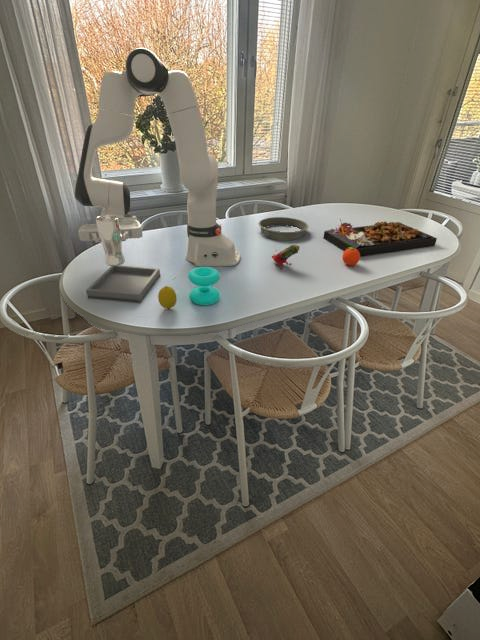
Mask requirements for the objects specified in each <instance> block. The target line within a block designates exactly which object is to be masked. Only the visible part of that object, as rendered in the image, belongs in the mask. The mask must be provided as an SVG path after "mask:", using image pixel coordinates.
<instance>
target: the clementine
mask: <svg viewBox="0 0 480 640" xmlns="http://www.w3.org/2000/svg"><path fill="white" fill-rule="evenodd" d="M348 248H349V249H347V248H346V249H347V250H345V251H343V253H342V257H341V258H342V261H343V263H344V264H346V266H347V265H348V266H354V265H357V264H358V263H359V261H360V259H361V257H360V253H359V251H358V250H357V249H355V248H352V247H348Z"/></svg>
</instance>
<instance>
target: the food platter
mask: <svg viewBox="0 0 480 640" xmlns="http://www.w3.org/2000/svg"><path fill="white" fill-rule="evenodd" d="M339 220H340V225H338V224H337V227H335V229H334V228H331V229H329V230H324V233H323V238H322V239H323V240H325V241H327V242H328V243H330V244H331V245H333V246H335V247H336V248H338V249H340V250H341V251H343V252H344V251H345V250H347V249H349V248H348V247H352V248H355V249H357V250H358V251H359V253H360V258H363V257H369V256H376V255H382V254H383V255H384V254H389V253H396V252H403V251H410V250H417V249H424V248H431V247H435V245H436V243H437V240H438V238H437V237H435V236H433V235H430V234H428V233H426V232H423V231H421V230H419V229H417V228H413V227H411V226H410V225H409V226H408V225H407V224H404V223H402V222H399V221H395V222H394V221H390V222H387V221H380V222H379V221H377V222H375V223H374V224H372V225H364V226H355V227H353V226H354V225H353V224H352V223H350V222H349V223H348V222H345V221H344V222H342V220H341V219H339ZM346 248H347V249H346Z"/></svg>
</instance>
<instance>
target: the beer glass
mask: <svg viewBox="0 0 480 640" xmlns="http://www.w3.org/2000/svg"><path fill="white" fill-rule="evenodd" d="M95 221H96V222H95V224H97V230H98V235H99V238H100V241H101V246H102V247H103V250H104V254H105V264H106V265H107V266H109V267H111V266H117V265H120V266H122V265H123V264H124V263H125V262H126V261H125V259H126V258H125V257H124V255H123V250H122V242H123V241H121V229H120V224H119V220H118V217H117V216H115V215H102V216H101V215H99V216H97V217H96V218H95Z"/></svg>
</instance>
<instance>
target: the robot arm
mask: <svg viewBox="0 0 480 640" xmlns="http://www.w3.org/2000/svg"><path fill="white" fill-rule="evenodd" d="M190 80H191V79H190V78H189V76H188V75H187V73H186V72H184V71H182V70H179V69H175V70H174V69H173V70H169V69H168V68H167V66H166V65H165V64H164V63H163V61H162V60H161V59H160V58H159V57H158V56H157V55H156V53H154V52H153V51H152V50H150V49H148V48H146V47H137V48H134V49H133V50H131V51H130V52H129V54H128V55H127V57H126V59H125V70H124V71H118V70H110V71H107V72H105V73H104V74H103V75H102V78H101V82H100V85H99V86H100V87H99V93H98V109H97V111H98V112H97V117H96V118H95V121H94V122H93V123H91V124H89V125H88V126H87V128H86V131H85V134H84V140H83V144H82V149H81V156H80V161H79V165H78V166H79V167H78V171H77V172H78V173H77V177H76V179H75V182H74V185H73V186H74V187H73V195H74V198H75V199H76V201H77V202H78V203H79V204H80V205H82V206H83V207H99V208H103V209H102V211H101V213H100V216H102V215H115V216H117V217H118V220H119V224H120V229H121V241H122V242H126V240H129V239H140V238H143V236H144V235H143V228H142V224H141V223H140V221H139V220H138V219H137V216H136V215H128V214H129V212H130V210H131V209H130V208H131V191H130V188H129V187H128V186H127V185H126V183H125V182H123V181H118V180H112V179H104V178H99V177H95V176H93V175H92V173H93V172H92V171H93V166H94V160H95V157H96V156H95V155H96V152H97V150H99V149H100V148H102V147H105V146H107V145H108V146H109V145H114V144H119V143H122V142H124V141H126V140H128V139H129V138H130V136H131V135H132V134H133V131H134V126H135V125H134V124H135V108H136V101H137V98H141V97H150V96H154V95H157V96H158V97H160V99H161V101H162V103H163V105H164V109H165V111H166V115H167V119H168V122H169V125H170V129H171V133H172V134H173V139H174V143H175V149H176V155H177V161H178V166H179V179H180V183H182V185H183V186H184V188H186V189H187V190H188V195H187V202H186V208H187V224H186V233H187V237H188V241H187V250H186V251H187V252H186V256H185V257H186V260H187V261H188V262H191V263H192V264H194V265H195V266H196V267H234V266H236V265H237V264H239V263H240V260H241V253H240V252H239V251H238V250H236V247H235V243H234V241H233V240H232V239H230V238H229V237H227V236H226V235H225V234H224V233H222V224H218V223H217V195H218V194H217V193H218V181H219V177H218V176H219V175H218V174H219V163H218V161H217V159H216V158H215V156H214V155H212V154H211V153H209V151H208V145H207V136H206V135H207V134H206V129H205V124H204V120H203V117H202V114H201V109H200V106H199V101H198V97H197V96H196V92H195V89H194V88H193V84H192V81H190ZM77 233H78V237H79V241H82V242H91V241H92V242H95V244H98V243H99V244H100V243H101V241H100V238H99V235H98V230H97V223H88V224H87V223H86V224H83V225H81V226H80V227H79V228H78V230H77ZM101 244H102V243H101Z"/></svg>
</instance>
